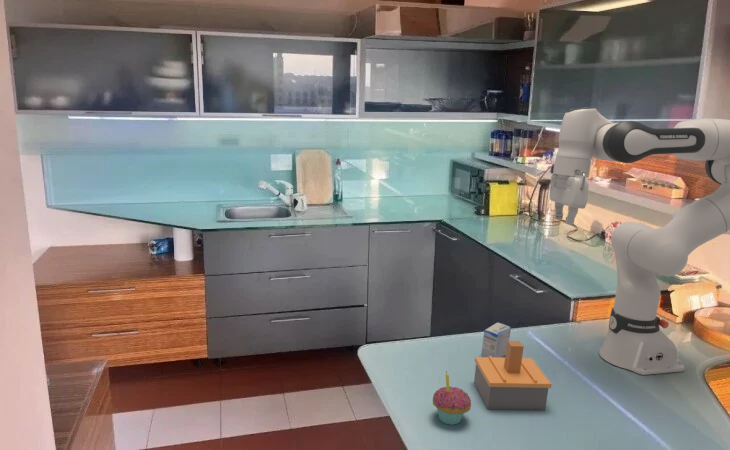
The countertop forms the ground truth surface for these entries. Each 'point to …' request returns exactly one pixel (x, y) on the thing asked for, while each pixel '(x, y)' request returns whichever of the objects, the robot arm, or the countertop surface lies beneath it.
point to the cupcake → (451, 403)
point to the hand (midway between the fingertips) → (563, 221)
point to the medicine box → (495, 340)
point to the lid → (512, 369)
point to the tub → (510, 395)
